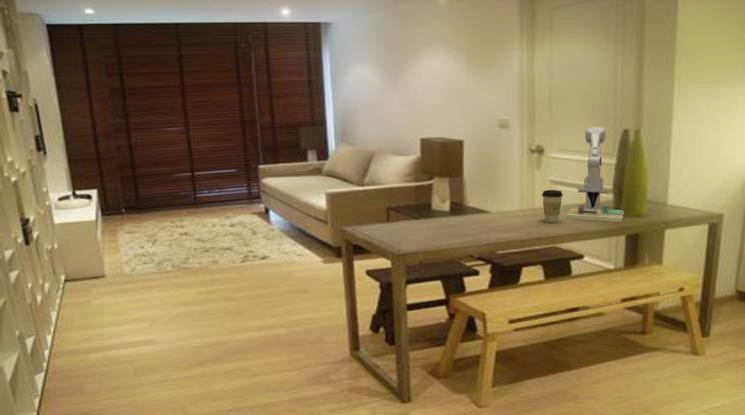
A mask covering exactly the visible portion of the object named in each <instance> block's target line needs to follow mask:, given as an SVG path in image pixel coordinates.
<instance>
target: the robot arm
mask: <svg viewBox="0 0 745 415" xmlns="http://www.w3.org/2000/svg"><path fill="white" fill-rule="evenodd" d="M606 131H607V130H606V126H594V127H592V126H587V127H585V142H586V144H587V143H588V144H589V149H588V157H587V171H588V172H587V176H585V177H584V179H583V187H579V188H577V193H578V194H580V193H584V194H585V207H584V209H585V210H602V206H601V194H610V189H608V188H604V178H603V177H602V176H601V167H602V163H603V157H602V148H601V147H600V146H601V144H603V143H605V141H606V133H607V132H606Z"/></svg>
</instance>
